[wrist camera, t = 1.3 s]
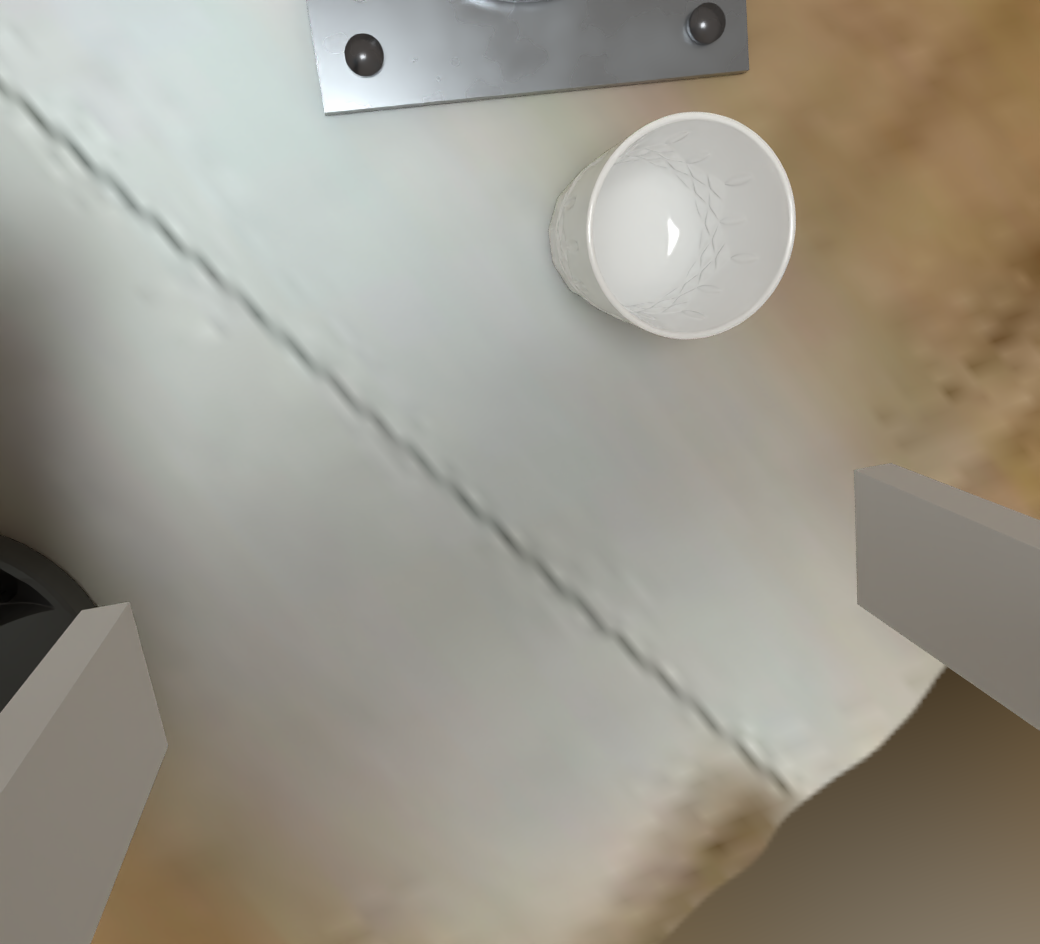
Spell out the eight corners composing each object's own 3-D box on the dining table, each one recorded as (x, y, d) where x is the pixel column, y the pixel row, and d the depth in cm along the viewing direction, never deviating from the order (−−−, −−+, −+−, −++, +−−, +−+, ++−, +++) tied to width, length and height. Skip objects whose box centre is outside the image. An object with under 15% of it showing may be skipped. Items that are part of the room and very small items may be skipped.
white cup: (523, 159, 39) (572, 127, 29) (689, 135, 40) (789, 97, 30) (548, 333, 41) (601, 356, 31) (704, 306, 42) (802, 320, 32)
